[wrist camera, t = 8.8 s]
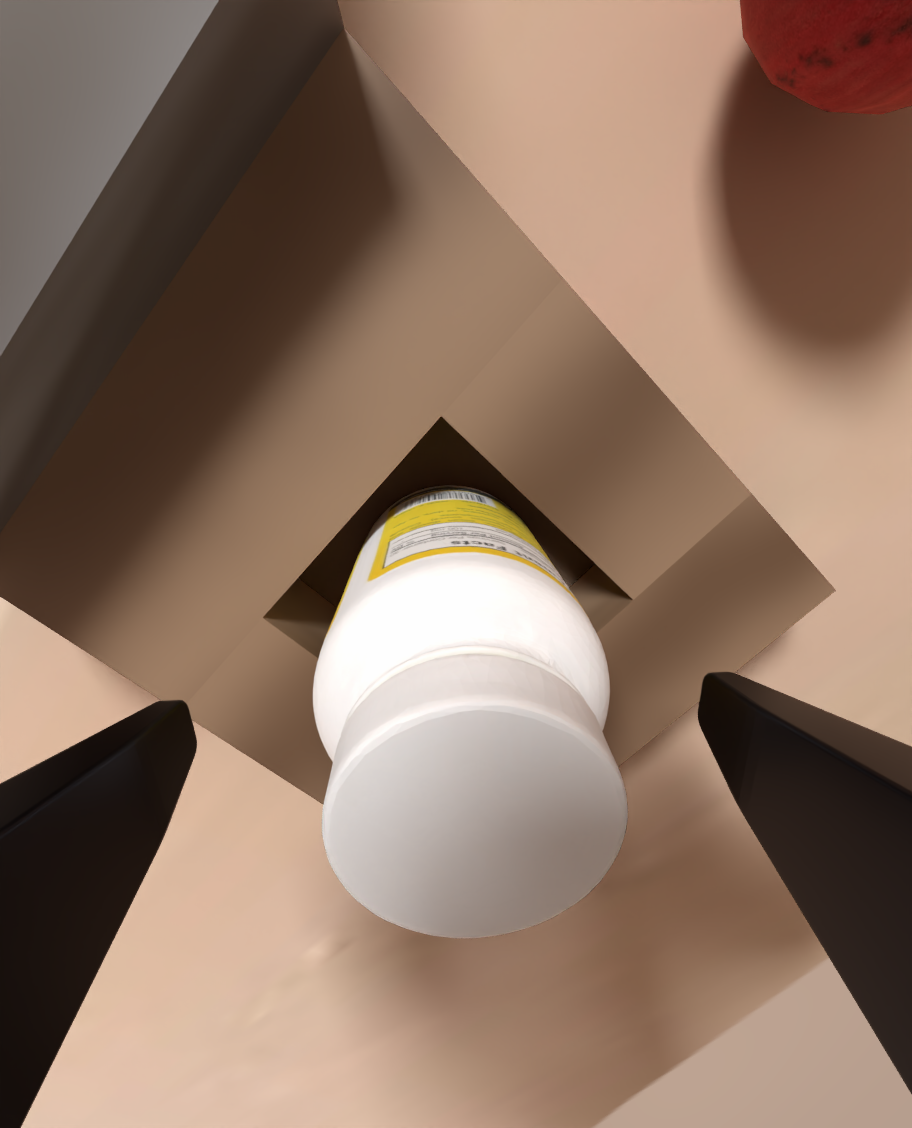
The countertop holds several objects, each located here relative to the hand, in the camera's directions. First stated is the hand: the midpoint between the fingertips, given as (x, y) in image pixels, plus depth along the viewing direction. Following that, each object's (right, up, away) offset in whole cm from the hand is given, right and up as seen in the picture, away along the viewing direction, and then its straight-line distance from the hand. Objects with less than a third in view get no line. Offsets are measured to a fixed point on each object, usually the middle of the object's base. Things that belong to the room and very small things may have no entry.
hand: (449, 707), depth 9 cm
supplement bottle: (0, +2, +7) cm, 7 cm away
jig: (-2, +4, +6) cm, 7 cm away
